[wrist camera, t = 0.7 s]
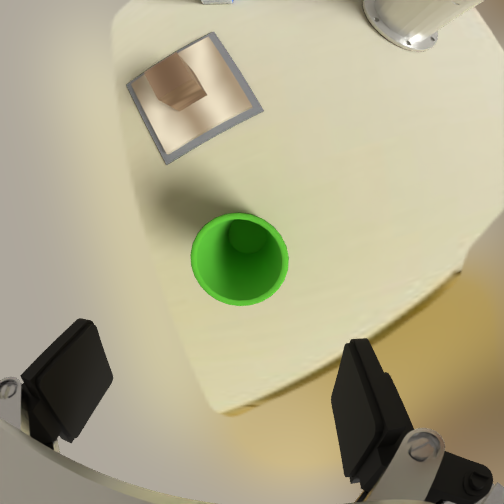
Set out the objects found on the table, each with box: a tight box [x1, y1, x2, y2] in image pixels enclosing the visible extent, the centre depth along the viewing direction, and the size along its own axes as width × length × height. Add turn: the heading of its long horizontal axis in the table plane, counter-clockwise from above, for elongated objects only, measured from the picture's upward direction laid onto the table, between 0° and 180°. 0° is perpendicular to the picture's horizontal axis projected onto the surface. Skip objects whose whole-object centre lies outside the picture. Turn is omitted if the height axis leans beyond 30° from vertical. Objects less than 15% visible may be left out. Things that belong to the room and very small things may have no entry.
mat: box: [126, 32, 264, 165], centre depth 30 cm, size 14×14×1 cm
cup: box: [191, 213, 289, 306], centre depth 30 cm, size 9×9×11 cm
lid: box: [131, 36, 253, 154], centre depth 26 cm, size 12×12×8 cm
